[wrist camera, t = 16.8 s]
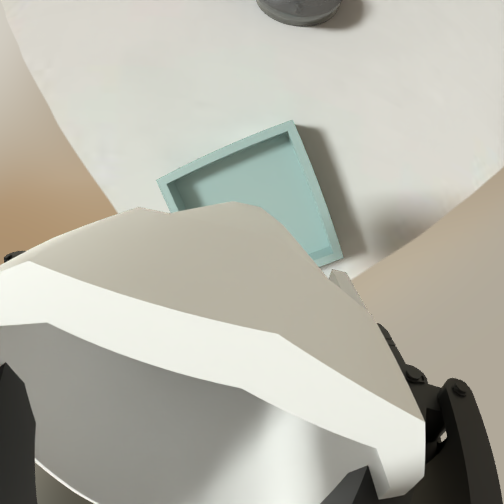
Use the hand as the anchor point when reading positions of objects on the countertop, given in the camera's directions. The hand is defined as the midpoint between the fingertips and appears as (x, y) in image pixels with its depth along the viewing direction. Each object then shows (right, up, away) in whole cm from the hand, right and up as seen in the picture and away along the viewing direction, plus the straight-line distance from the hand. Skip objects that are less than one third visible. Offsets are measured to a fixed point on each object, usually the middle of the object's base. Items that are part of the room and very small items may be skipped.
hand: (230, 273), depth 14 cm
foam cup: (0, +1, +2) cm, 2 cm away
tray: (+1, +5, +15) cm, 15 cm away
